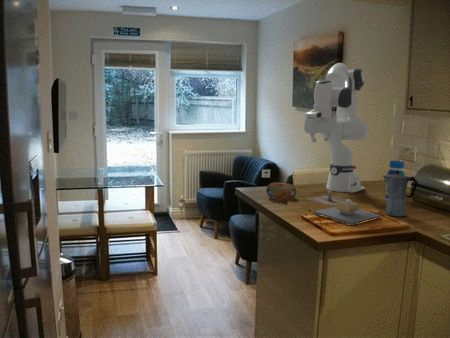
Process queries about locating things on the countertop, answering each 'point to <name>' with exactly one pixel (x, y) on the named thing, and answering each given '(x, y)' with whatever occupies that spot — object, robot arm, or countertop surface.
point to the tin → (281, 191)
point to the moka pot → (397, 193)
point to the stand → (327, 199)
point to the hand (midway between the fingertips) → (320, 141)
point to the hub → (347, 214)
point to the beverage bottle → (394, 171)
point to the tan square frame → (347, 206)
